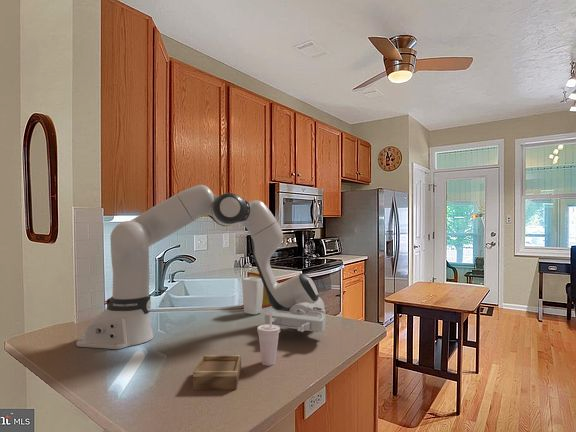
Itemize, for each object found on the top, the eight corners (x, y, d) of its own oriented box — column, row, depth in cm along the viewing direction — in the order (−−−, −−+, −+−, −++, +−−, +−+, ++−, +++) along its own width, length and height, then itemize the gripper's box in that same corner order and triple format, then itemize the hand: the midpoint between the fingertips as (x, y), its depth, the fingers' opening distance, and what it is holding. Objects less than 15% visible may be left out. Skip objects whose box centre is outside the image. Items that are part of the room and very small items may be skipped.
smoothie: (277, 368, 90) (277, 315, 90) (253, 366, 91) (254, 314, 92) (282, 359, 96) (282, 309, 97) (260, 357, 98) (260, 308, 98)
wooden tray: (192, 389, 78) (193, 372, 78) (202, 371, 88) (202, 355, 88) (236, 389, 79) (236, 371, 79) (241, 370, 89) (241, 355, 89)
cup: (250, 310, 151) (251, 276, 151) (264, 312, 147) (264, 278, 147) (240, 314, 144) (241, 279, 145) (255, 316, 141) (255, 280, 141)
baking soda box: (271, 306, 159) (271, 271, 159) (260, 308, 154) (260, 273, 154) (258, 303, 165) (258, 269, 166) (247, 305, 161) (247, 271, 161)
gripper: (274, 304, 122) (256, 313, 109) (329, 310, 114) (316, 320, 101) (274, 321, 122) (255, 333, 109) (329, 329, 114) (316, 342, 101)
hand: (285, 327), depth 105 cm, fingers open, 8 cm apart
